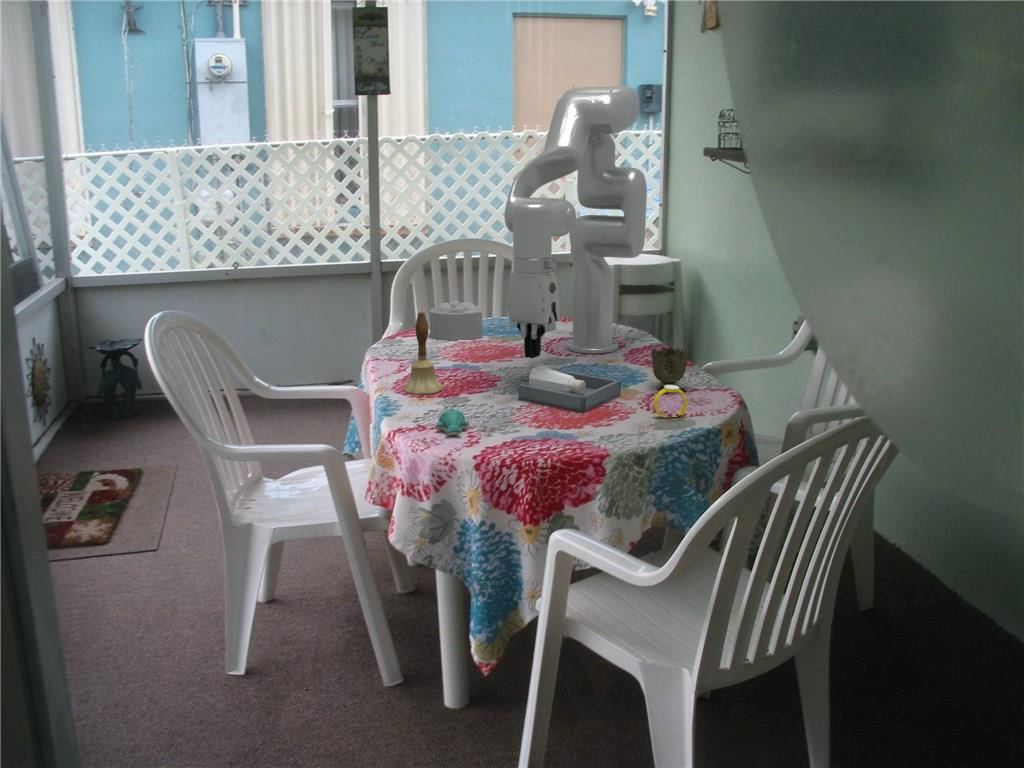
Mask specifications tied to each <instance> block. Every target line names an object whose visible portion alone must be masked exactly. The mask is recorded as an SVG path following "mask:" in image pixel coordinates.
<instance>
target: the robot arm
mask: <svg viewBox="0 0 1024 768" xmlns="http://www.w3.org/2000/svg"><path fill="white" fill-rule="evenodd" d="M639 113H640V98H639V95H638V93H637V91H636V90H635V88H633V87H630V86H583V87H576V88H571V89H568V90H566V91H565V92H564V93H563V94H562V96H561V97H560V98H559V99H558V101H557V103H556V104H555V108H554V111H553V114H552V118H551V122H550V125H549V129H548V132H547V135H546V140H545V143H544V147H543V151H541V153H539V154H538V155H537V156H536V157H534V158H533V159H531V161H529V162H528V163H527V164H526V165H525V166H524V167H523V168H522V169H521V170H520V171H519V172H518V174H517V175H516V176H515V177H514V179H513V181H512V184H511V187H510V189H509V192H508V196H507V200H506V203H505V204H506V205H505V208H504V209H505V210H504V223H505V226H506V228H507V229H508V231H509V232H511V233H512V244H513V245H512V247H513V248H512V250H513V251H512V252H513V253H512V256H513V258H512V259H513V260H512V261H513V263H512V265H513V267H512V269H513V270H512V272H510V277H509V282H508V283H509V284H508V289H507V290H508V292H507V293H508V294H507V316H508V318H509V321H508V323H509V325H510V326H512V327H515V328H517V330H518V331H519V332H520V335H521V337H522V338H523V339H524V340H523V346H524V348H523V349H524V350H523V351H524V358H527V359H528V358H529V359H534V358H537V357H540V356H541V352H542V337H544V335H545V334H546V333H547V332H552V331H555V330H557V325H556V324H557V322H558V321H559V320H560V317H561V315H560V314H561V313H560V309H561V308H560V294H559V293H560V291H559V284H558V281H557V275H556V273H555V272H553V270H555V269H556V268H557V263H556V262H554V261H553V257H552V249H553V248H552V245H553V244H552V238H553V237H563V236H564V237H565V236H566V235H568V234H569V236H568V237H569V243H570V250H571V258H572V339H569V340H567V341H566V342H565V348H566V349H567V350H569V351H572V352H575V353H581V354H606V353H610V352H615V351H616V350H618V349H619V342H617V341H616V340H614V339H613V336H614V335H617V334H619V333H620V328H619V327H618V326H616V325H615V326H613V316H614V315H613V311H614V309H613V308H614V306H613V305H614V274H613V270H612V269H611V266H610V265H609V264H608V262H607V260H606V259H605V258H620V259H623V258H624V259H633V258H638V257H639V256H640V255H641V254H642V252H643V250H644V246H645V243H646V242H645V241H646V240H645V239H646V221H647V201H648V200H647V199H648V197H647V195H648V192H647V189H648V188H647V180H646V177H645V174H644V172H643V171H642V170H641V169H639V168H637V167H636V168H635V167H628V166H627V167H624V166H623V167H622V166H620V167H619V166H618V167H617V166H616V143H615V141H614V138H613V137H612V135H617V134H619V133H620V134H621V132H624V131H625V130H627V129H630V128H631V127H632V126H633V125H634V124H635V123H636V121H637V119H638V117H639ZM574 172H577V183H576V185H577V186H576V188H577V189H576V190H577V199H578V203H579V205H580V206H582V208H586V209H593V210H611V211H612V210H614V211H620V210H621V211H622V212H623V215H608V214H585V215H580V216H579V217H577V213H576V209H575V207H574V205H573V204H572V203H571V202H570V201H569V200H567V199H564V198H556V197H555V198H554V197H553V198H550V197H548V198H547V197H533V196H532V195H534V193H535V192H536V191H537V190H538V189H540V188H542V187H543V186H545V185H546V184H549V183H551V182H554V181H556V180H559V179H561V178H564V177H565V176H568V175H571V174H573V173H574Z"/></svg>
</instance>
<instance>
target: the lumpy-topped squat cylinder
mask: <svg viewBox="0 0 1024 768" xmlns="http://www.w3.org/2000/svg"><path fill="white" fill-rule="evenodd" d="M429 335H430V336H429V337H430V339H431V338H432V339H431V340H433V339H436V340H435V341H438V340H447V341H446V342H449V341H455V342H459V341H458V340H473V341H476V340H475V339H480V338H482V339H483V310H482V309H480V306H479V305H476V304H475V303H473V302H471V301H465V302H460V301H459V300H452V301H450V302H441V303H439V304H438V305H437V306H436V307H432V308H430V310H429ZM480 340H481V339H480Z"/></svg>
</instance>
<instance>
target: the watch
mask: <svg viewBox="0 0 1024 768" xmlns="http://www.w3.org/2000/svg"><path fill="white" fill-rule="evenodd" d="M667 392H668V393H679V394H681V396H682V397H683V398H682V399H683V405H682V407H681V410H679V411H678V412H677V413H676V414H678V415H682V416H683V415H684V413H685V412H686V410H687V408H688V398H687V396H686V394H685V393H684V392H683V391H682V390H681V389H680V386H678V385H677V386H675V385H666V386H664V389H662V388H661V390H660V391H658V392H657V394H655V397H654V399H653V400H654V401H653V407H654V409H655V412H656V413H657V415H658V416H659V417H661V418H662V417H663V415H664V414H662V413H661V412H660V410H659V407H658V405H659V400H660V399H661V397H662V395H664V394H665V393H667Z"/></svg>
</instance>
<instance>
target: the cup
mask: <svg viewBox="0 0 1024 768" xmlns="http://www.w3.org/2000/svg"><path fill="white" fill-rule="evenodd" d="M650 354H651V364H652V371H653V372H652V373H653V375H654V377H655V378H656V379H657V380H658V381H659V387H660V389H662V388H663V389H664V386H666V385H675V386H678V385H679V384H678V382H679V381H681V380H682V379H683V378H684V376H685V373H686V369H687V363H688V356H689V351H688V350H687V349H685V348H684V347H683V348H681V349H680V347H676V348H674V347H673V346H671V345H670V346H668V347H665V346H664V345H663V346H662V347H661V348H660V350H658V349H657V348H656V347H654V348H653V349H651V351H650Z"/></svg>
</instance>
